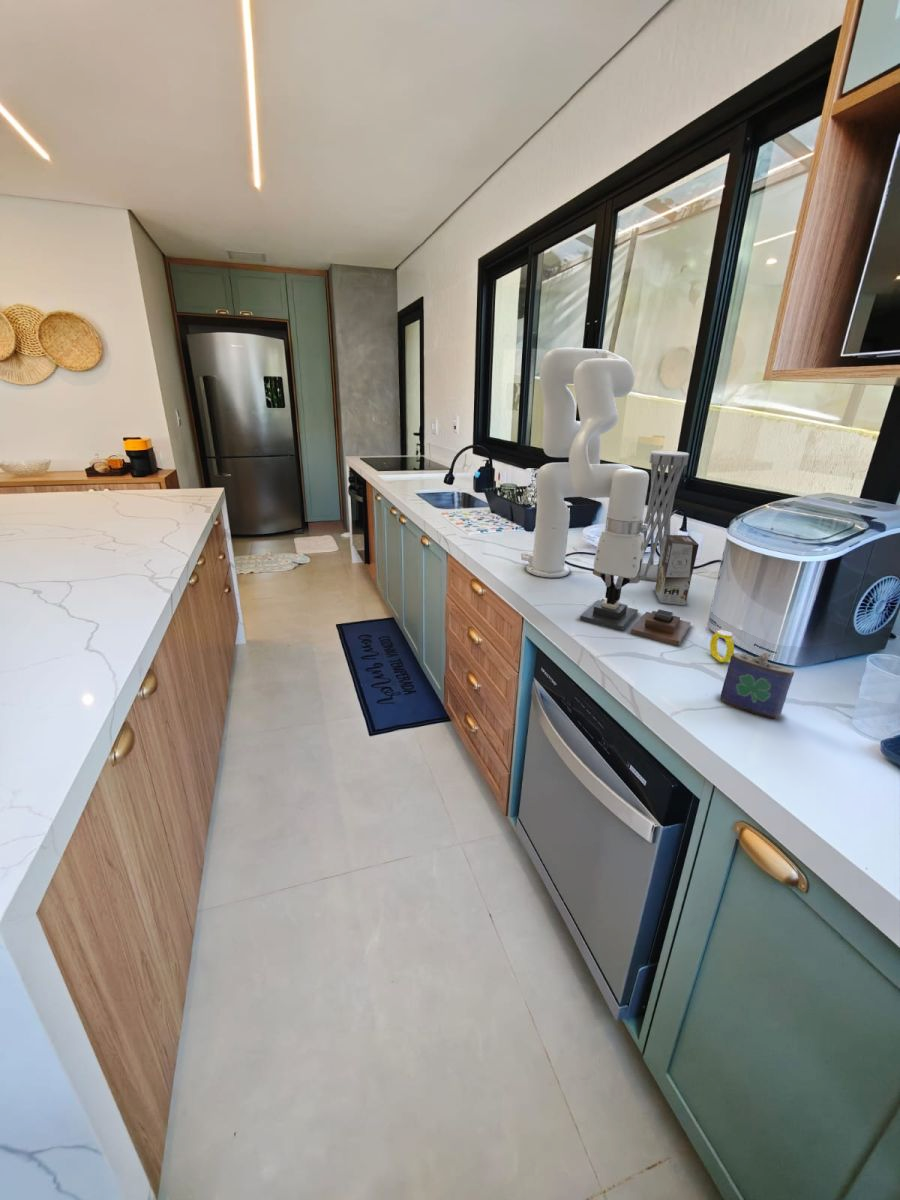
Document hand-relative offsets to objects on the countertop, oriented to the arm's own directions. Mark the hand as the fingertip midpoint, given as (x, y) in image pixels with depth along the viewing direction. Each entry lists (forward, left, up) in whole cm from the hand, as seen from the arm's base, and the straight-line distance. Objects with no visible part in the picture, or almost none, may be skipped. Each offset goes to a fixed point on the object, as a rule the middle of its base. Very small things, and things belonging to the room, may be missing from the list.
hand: (611, 602), depth 119 cm
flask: (+32, -23, -4) cm, 39 cm away
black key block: (0, 0, -4) cm, 4 cm away
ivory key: (0, 0, -2) cm, 2 cm away
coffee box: (+9, +22, -4) cm, 24 cm away
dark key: (+12, 0, -2) cm, 12 cm away
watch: (+25, -7, -4) cm, 26 cm away
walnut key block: (+12, 0, -4) cm, 12 cm away
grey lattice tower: (-1, +39, -4) cm, 39 cm away
